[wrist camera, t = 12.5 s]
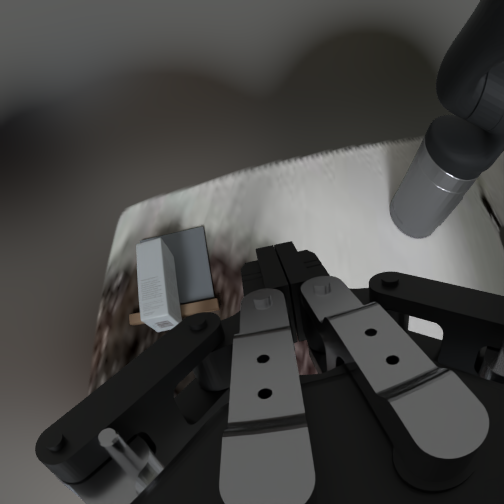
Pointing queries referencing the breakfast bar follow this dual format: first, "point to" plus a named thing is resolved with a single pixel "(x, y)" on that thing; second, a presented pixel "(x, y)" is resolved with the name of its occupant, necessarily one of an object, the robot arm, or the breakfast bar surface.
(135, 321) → the walnut strip
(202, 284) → the grey mat
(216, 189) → the breakfast bar surface
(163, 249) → the skincare box
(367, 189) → the breakfast bar surface
